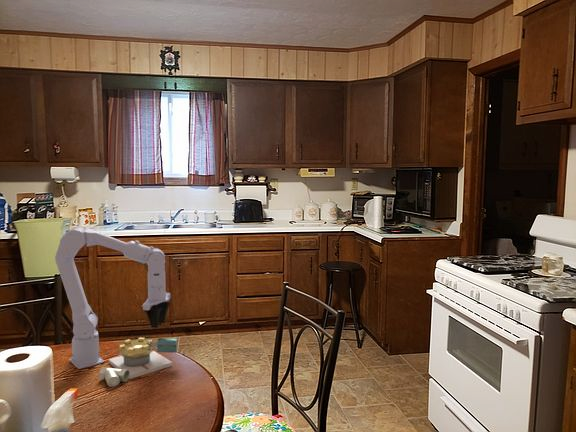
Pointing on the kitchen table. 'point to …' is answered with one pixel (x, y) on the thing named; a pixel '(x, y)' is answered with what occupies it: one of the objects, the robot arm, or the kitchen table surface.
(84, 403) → the kitchen table surface
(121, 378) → the pipe fitting
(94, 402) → the kitchen table surface
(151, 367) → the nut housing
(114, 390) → the kitchen table surface
